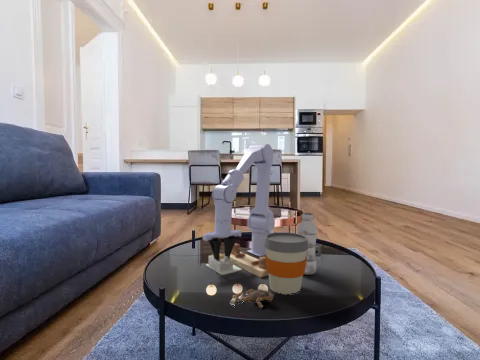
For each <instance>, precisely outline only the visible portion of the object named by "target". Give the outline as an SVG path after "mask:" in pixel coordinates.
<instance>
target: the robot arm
mask: <svg viewBox="0 0 480 360" xmlns="http://www.w3.org/2000/svg"><path fill="white" fill-rule="evenodd" d="M273 159H274V149H273V148H272V146H271V145H270V144H269V143H265V144H247V146H245V148H244V149H243V156H242V158H241V159H240V161H239V163H238V165H237V166H236V168H234V169H231V170H229V171H228V172H227V175H226V176H225V178H224V179H223V180H222V182H221V183H220V184H217V185H216V186H215V187H214V188H213V191H212V193H211V197H212V200H213V205H214V231H212V232H207V233H202V240H203V241H205V242H207V241H208V244H209V246H210V248H211V251H212V253H213V255H214V258H215V259H219V256H220V251H221V245H222V241H221V239H223V243H224V253H223V254H225V256H227V257H229V258H230V255H231V251H232V249H233V246H234V244H235V243H237V237H242V230H240V229H234V230H232V219H233V218H232V216H233V215H232V212H233V211H232V210H233V202H234V201H235V200H236V197H237V192H238V188H239V187H240V185H241V184H242V183H243V181H244V180H245V177H244V174H245V173H246V172H247V171H248V170H249V168H250V167H251V166H252V165H253V166H254V167H256V169H257V173H256V174H257V177H256V188H255V189H256V191H255V203H254V205H255V206H254V207H253V208H252V209H251V210H250V211H249V216H248V219H247V226H248V228H249V229H250V232H251V249H248V250H247V253H250V254H252V255H255V256H257V257H265V255H266V248H265V237H266V235H268V234H271V233H275V232H274V227H275V219H274V212H273V211H272V210H271V209H270V208H269V201H270V200H269V198H270V197H269V196H270V184H271V171H272V169H271V168H272V166H273V163H274V162H273Z"/></svg>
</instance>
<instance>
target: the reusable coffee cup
mask: <svg viewBox="0 0 480 360" xmlns="http://www.w3.org/2000/svg"><path fill="white" fill-rule="evenodd" d="M265 248H266V255H264V257H265V258H266V268H267V272H268V273H269V275H268V282H269V290H270V291H272V292H274V293H276V292H277V294H280V293H281V295H287V294H289V295H291V294H290V293H296V292H298V291H300V292H301V290H302V284H303V276H304V275H305V268H306V261H307V257H306V251H307V249H308V240H307V237H305V236H303V235H300V234H298V233H294V232H283V231H282V232H274V233H271V234H268V235H266V237H265ZM300 289H301V290H300ZM298 293H299V292H298ZM296 294H297V293H296Z"/></svg>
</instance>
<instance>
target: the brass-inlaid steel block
mask: <svg viewBox="0 0 480 360" xmlns="http://www.w3.org/2000/svg"><path fill="white" fill-rule="evenodd" d="M223 254H224V253H220V256H219V259H215V258H214V255H213V252H212V254H211V255H208V258H207V259H208V263H207V264H208V266H210V267H212V268H213V269H215V270H217V271H218V272H220V273H221V272H225V271H229V270H233V265H234V264H233V259H231V258H229V257H227V256H225V255H223ZM218 272H217V273H218Z"/></svg>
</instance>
